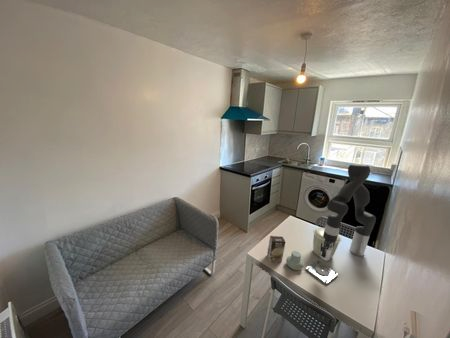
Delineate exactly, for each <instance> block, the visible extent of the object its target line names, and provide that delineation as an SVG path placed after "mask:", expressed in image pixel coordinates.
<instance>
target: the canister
mask: <svg viewBox="0 0 450 338" xmlns="http://www.w3.org/2000/svg"><path fill="white" fill-rule="evenodd" d="M324 230H325V227H316V228H315V227H314V229H313V242H312V248H313V249H312V250H313V252H314V254H316V256H318V257H319V258H321V252H322V251H320V250H321V243H324V240H325V238H324V237H323V234H324ZM341 241H342V237H341V235H339V234H338V237H337V241H336V242H335V244H334V247H333V249H332V251H331V255H330V259H332V258H333V257H334V255H335V253H336V251H337V249H338V246H339V243H340V242H341Z"/></svg>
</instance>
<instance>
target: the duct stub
mask: <svg viewBox="0 0 450 338" xmlns="http://www.w3.org/2000/svg"><path fill="white" fill-rule="evenodd" d="M323 244H324V243H323ZM326 248H328V247H326ZM332 249H333V246H330V247H329V249H328V250H327V252H326V256H325V258H324V257H322V256H321V257H320V258H321V259H322V260H323V261H326V262H327V261H330V259H331V258H330V255H331V251H332ZM321 254H322V252H321Z"/></svg>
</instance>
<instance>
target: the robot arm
mask: <svg viewBox="0 0 450 338" xmlns="http://www.w3.org/2000/svg"><path fill="white" fill-rule="evenodd" d="M370 174H371V168H370V166H369V165H367V164H358V163H351V164H349V166H348V167H347V175H348V179H349V182H348V183H347V184H344V185H343V186H342V187H341V188H340V190H339V191H338V192H337V194H336V195H335V196H333V197H332V198H331V199H329V201H328V202H327V204H326V208H327V209H328V211H330V212H333V213H335V214H329V215H328V216H327V220H326V224H325V226H324V228H325V230H324V234H323V237H324V238H325V240H324V244H323V243H321V250H320V251H322V254H321V256H322V257H324V258H325V256H326V252H327V250H328V249H329V247H330V246H333V247H334V244H335V242H336V241H337V237H338V235H339V233H340V227H341V222H342V221H343V219H344V216H345V215H346V214H347V213H348V211H349V206H348V204H347V203H349V202H350V201H351V199H353V202H354V207H355V208H354V209H355V210H354V211H355V212H354V214H355V220H356V221H357V222H358V223H360V224H361V225H363V226H361V225H359V226H358V225H357V226H356V227H355V228H354V232H353V237H352V239H351V243H350V247H349V251H350V253H352V254H353V255H355V256H358V257H363V256H364V255H365V252H366V249H367V246H368V244H369V243H368V242H369V239H370V236H371V234H372V232H373V229H374V226H375V224H376V220H377V217H376V216H375V215H374V214H372V213H370V212H368V211H366V210H365V208H366V206H368V204H369V203H370V200H371V198H370V191H369V190H368V188H367V187H365V185H364V184H363V183H364V182H366V180H368V178H369V176H370ZM352 197H353V198H352ZM337 214H338V215H337ZM326 247H328V248H326Z"/></svg>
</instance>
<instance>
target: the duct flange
mask: <svg viewBox="0 0 450 338" xmlns="http://www.w3.org/2000/svg"><path fill="white" fill-rule="evenodd" d="M305 271H306V272H308V273H309V274H310V275H312V276H313V277H314V278H316V279H317V280H318V281H320V282H321V283H323V284H324V285H325V286H327V285H329V284H331V282H332V281H334V280H335V279H336V278H337V277H338V276H339V274H338V272H337V271H335V270H333V269H331V268H330V267H329V266H327V265H325V264H324V263H322V262H320V260H316V261H314V262H313V263H311V264H310V265H308V266H306V267H305Z"/></svg>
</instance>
